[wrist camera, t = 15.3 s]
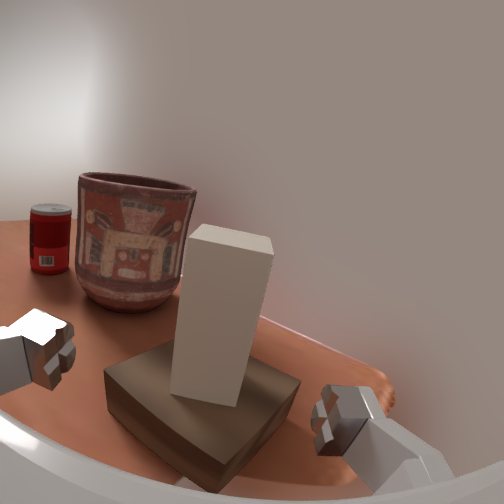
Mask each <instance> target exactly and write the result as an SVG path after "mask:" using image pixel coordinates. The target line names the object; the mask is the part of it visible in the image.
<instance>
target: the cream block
mask: <svg viewBox="0 0 504 504" xmlns="http://www.w3.org/2000/svg"><path fill="white" fill-rule="evenodd" d="M273 258H274V252H273V248H272V245H271V241H270V238H269V237H265V236H261V235H256V234H251V233H246V232H241V231H236V230H232V229H227V228H222V227H217V226H212V225H207V224H202V225H201V226H200V227H199V228H198V229H197V230H196V231H195V232H193V233H192V234H191V235H190V236H189V238H188V245H187V251H186V257H185V264H184V271H183V277H182V284H181V291H180V299H179V307H178V315H177V323H176V332H175V341H174V350H173V360H172V371H171V383H170V394H174V395H178V396H182V397H186V398H191V399H195V400H200V401H205V402H210V403H215V404H221V405H226V406H232V407H236V403H237V399H238V396H239V392H240V388H241V384H242V381H243V377H244V373H245V369H246V366H247V362H248V358H249V354H250V350H251V346H252V343H253V339H254V335H255V331H256V327H257V323H258V319H259V315H260V311H261V307H262V303H263V299H264V295H265V291H266V287H267V283H268V279H269V274H270V271H271V267H272V262H273Z"/></svg>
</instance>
